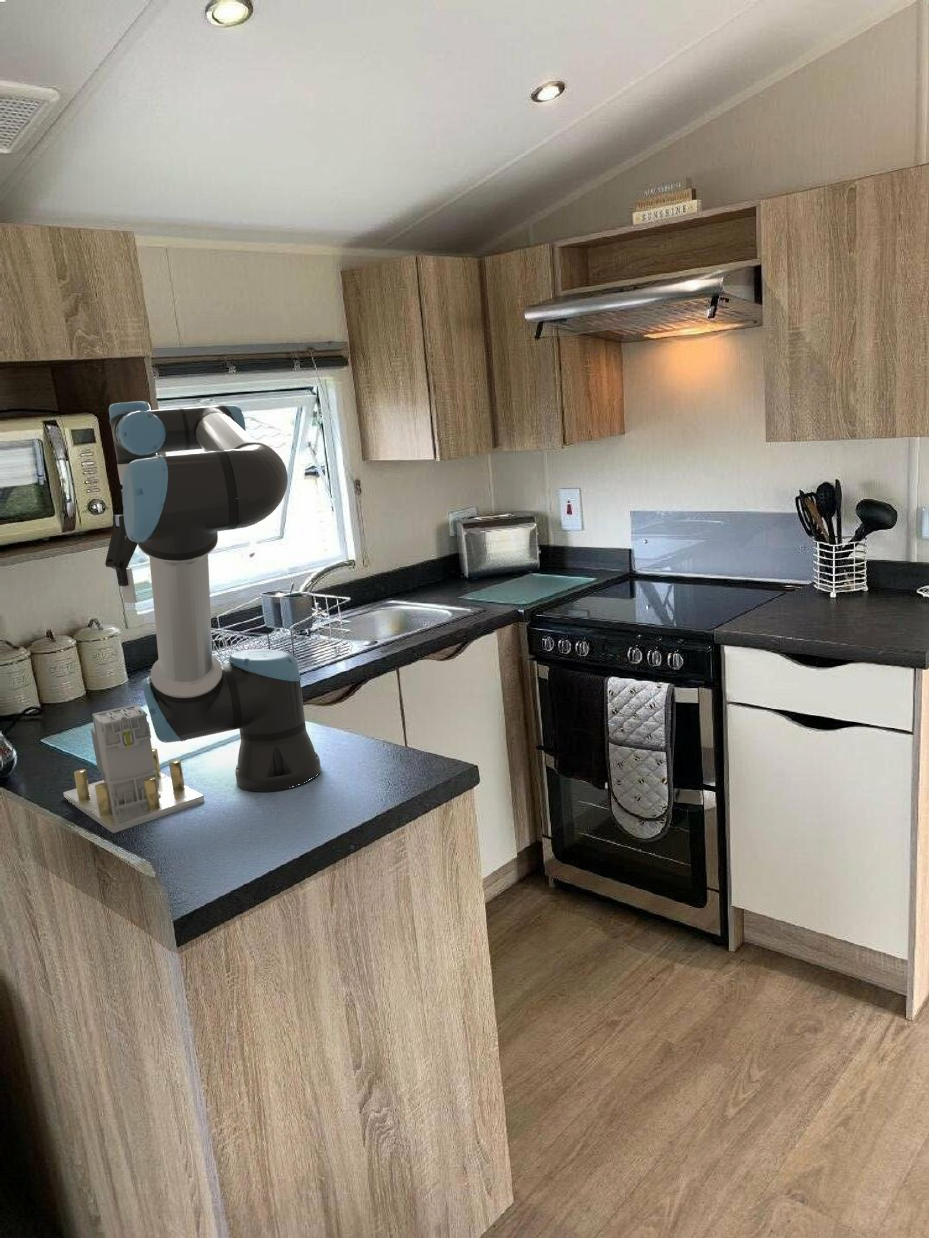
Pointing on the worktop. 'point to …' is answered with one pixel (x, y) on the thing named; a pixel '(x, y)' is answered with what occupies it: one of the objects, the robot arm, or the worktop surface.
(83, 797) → the mounting plate
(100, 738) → the circuit breaker
